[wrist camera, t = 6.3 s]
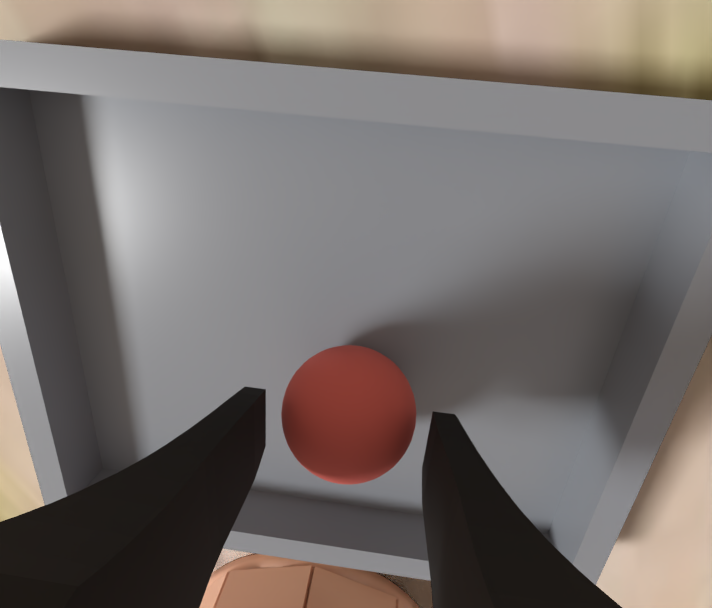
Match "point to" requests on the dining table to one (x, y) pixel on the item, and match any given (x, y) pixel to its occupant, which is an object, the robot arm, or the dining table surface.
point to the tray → (351, 278)
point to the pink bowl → (299, 586)
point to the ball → (348, 414)
